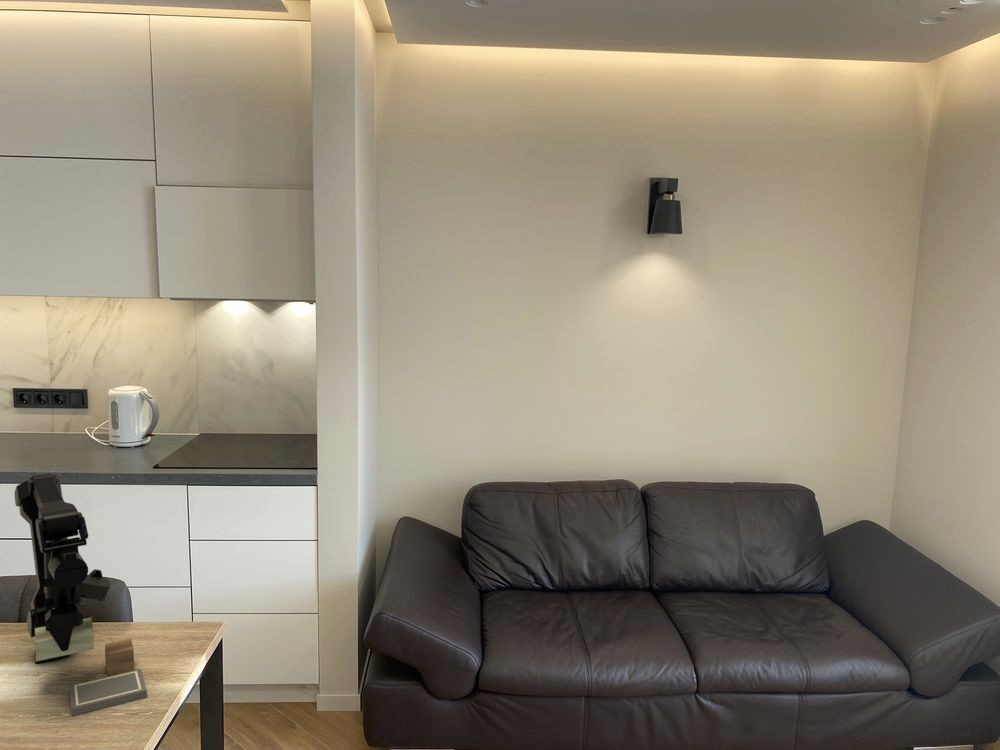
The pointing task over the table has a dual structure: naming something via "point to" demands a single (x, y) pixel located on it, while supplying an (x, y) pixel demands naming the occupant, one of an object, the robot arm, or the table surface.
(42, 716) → the table surface
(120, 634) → the table surface
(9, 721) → the table surface
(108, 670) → the walnut cube
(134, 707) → the table surface
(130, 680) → the plinth
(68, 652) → the sage block
